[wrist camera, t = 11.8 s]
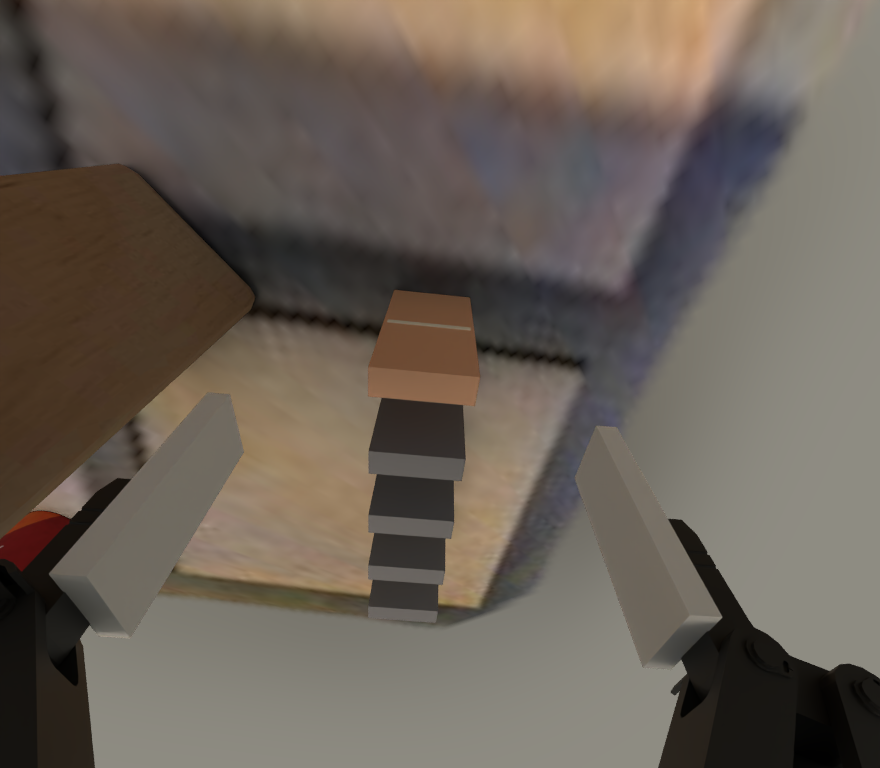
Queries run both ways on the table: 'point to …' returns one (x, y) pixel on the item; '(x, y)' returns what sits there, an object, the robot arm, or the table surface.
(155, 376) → the wooden block
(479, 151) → the table surface
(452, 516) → the domino
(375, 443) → the domino
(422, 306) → the head domino
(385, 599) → the domino
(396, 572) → the domino
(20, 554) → the paper cup
